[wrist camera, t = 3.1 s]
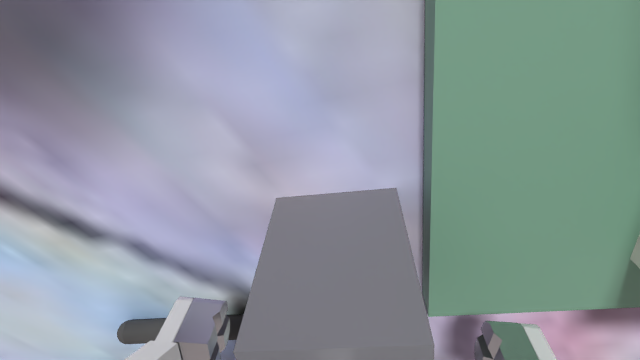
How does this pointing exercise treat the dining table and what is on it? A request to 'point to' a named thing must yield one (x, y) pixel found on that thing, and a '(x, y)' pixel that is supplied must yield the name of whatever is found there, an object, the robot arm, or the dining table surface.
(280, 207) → the plug
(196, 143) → the dining table surface
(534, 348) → the robot arm
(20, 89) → the dining table surface
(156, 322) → the rod
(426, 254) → the board
